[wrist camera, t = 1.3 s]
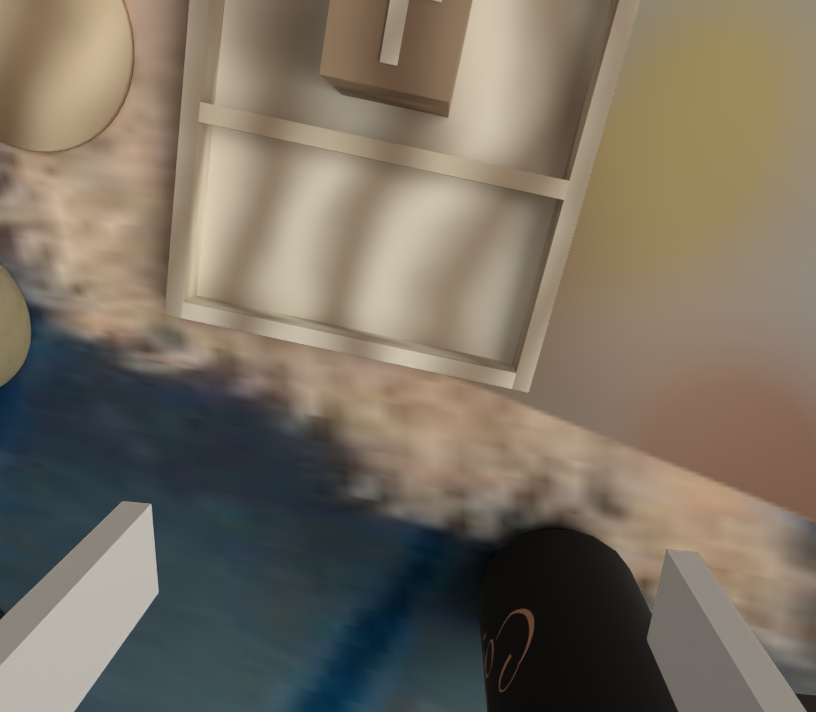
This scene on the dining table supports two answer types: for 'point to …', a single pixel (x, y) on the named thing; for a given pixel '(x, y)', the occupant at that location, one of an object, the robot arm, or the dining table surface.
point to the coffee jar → (566, 629)
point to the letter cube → (396, 51)
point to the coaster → (62, 70)
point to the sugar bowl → (12, 327)
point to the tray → (389, 185)
